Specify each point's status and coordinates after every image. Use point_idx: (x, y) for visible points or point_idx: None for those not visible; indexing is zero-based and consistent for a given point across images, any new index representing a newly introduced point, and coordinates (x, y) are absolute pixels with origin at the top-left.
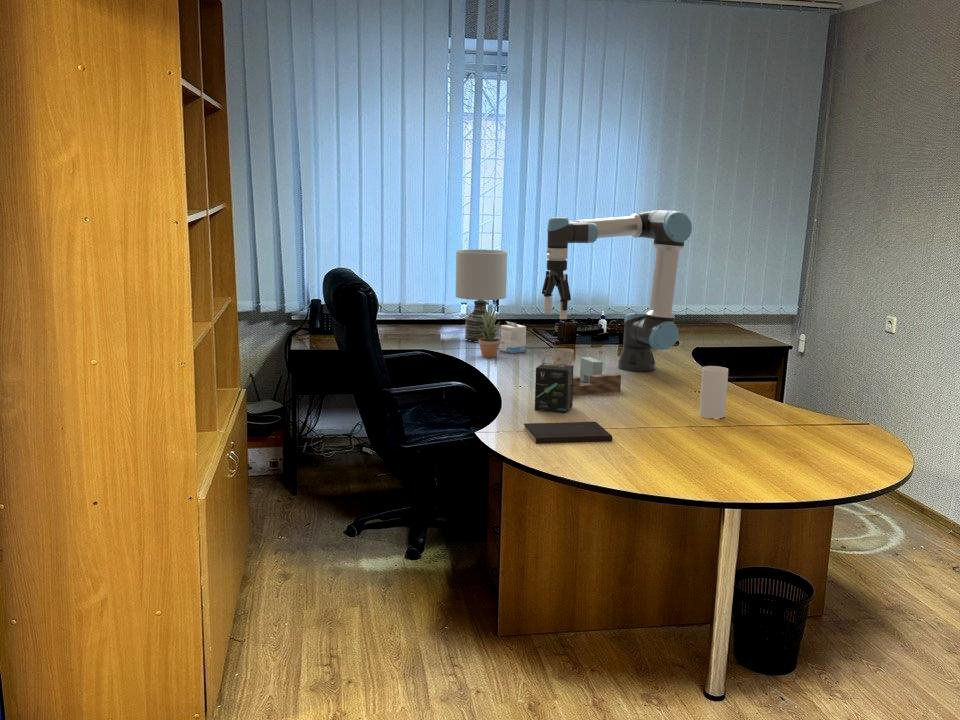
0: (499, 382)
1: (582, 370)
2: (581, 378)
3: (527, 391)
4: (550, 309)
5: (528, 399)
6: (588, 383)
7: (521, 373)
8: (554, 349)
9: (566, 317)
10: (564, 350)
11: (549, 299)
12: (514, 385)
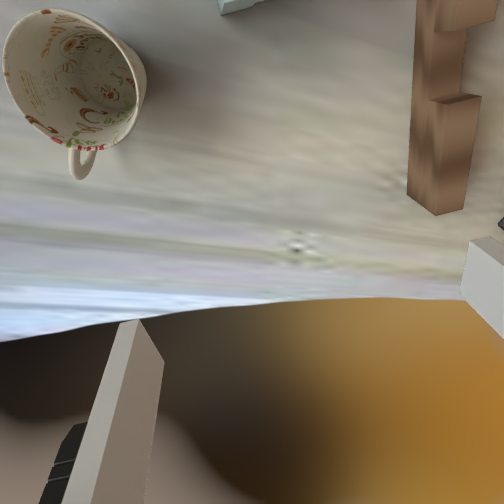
0: (244, 293)
1: (245, 4)
2: (236, 10)
3: (358, 240)
4: (134, 361)
5: (438, 248)
6: (436, 39)
7: (111, 227)
8: (46, 132)
9: (500, 249)
10: (14, 61)
11: (111, 499)
12: (283, 263)
